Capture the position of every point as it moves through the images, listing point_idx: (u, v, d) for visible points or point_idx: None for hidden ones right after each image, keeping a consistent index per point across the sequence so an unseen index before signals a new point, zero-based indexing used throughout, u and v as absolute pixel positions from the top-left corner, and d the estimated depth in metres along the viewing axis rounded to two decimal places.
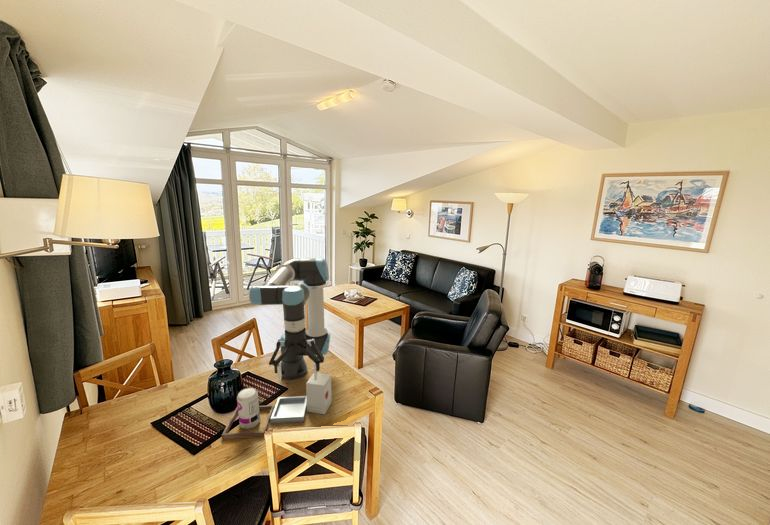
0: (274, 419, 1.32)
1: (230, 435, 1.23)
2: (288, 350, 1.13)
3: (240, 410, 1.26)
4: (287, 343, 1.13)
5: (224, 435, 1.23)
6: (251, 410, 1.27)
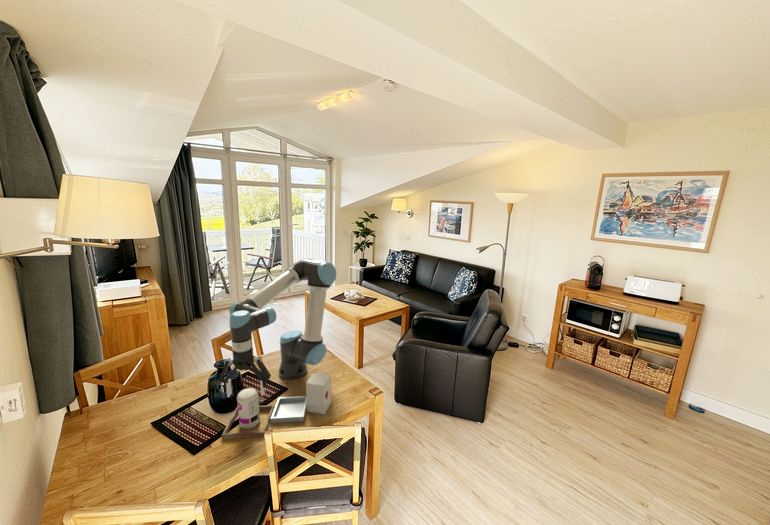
0: (274, 419, 1.32)
1: (230, 435, 1.23)
2: (236, 368, 1.24)
3: (240, 410, 1.26)
4: (235, 362, 1.24)
5: (224, 435, 1.23)
6: (251, 410, 1.27)
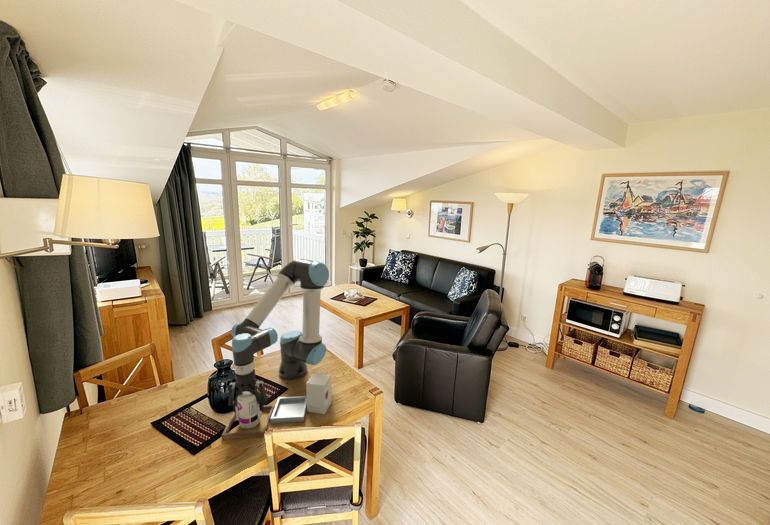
0: (274, 419, 1.32)
1: (230, 435, 1.23)
2: (240, 390, 1.26)
3: (240, 410, 1.26)
4: (237, 384, 1.26)
5: (224, 435, 1.23)
6: (251, 410, 1.27)
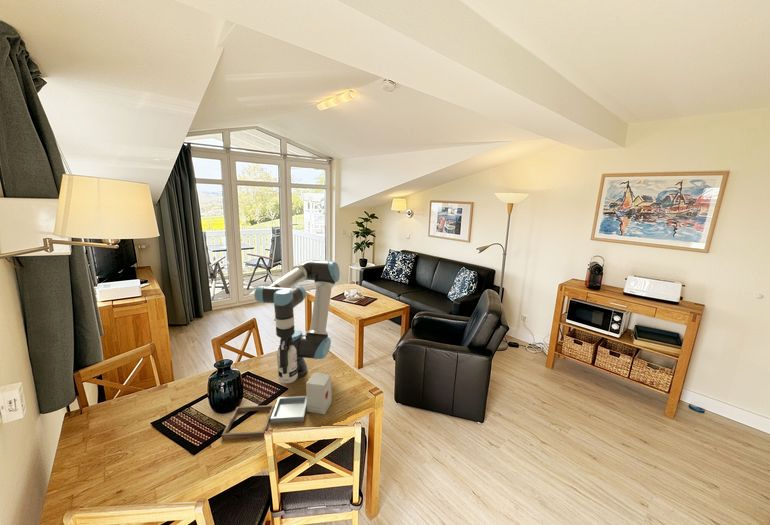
0: (274, 419, 1.32)
1: (230, 435, 1.23)
2: None
3: None
4: None
5: (224, 435, 1.23)
6: (278, 363, 1.31)
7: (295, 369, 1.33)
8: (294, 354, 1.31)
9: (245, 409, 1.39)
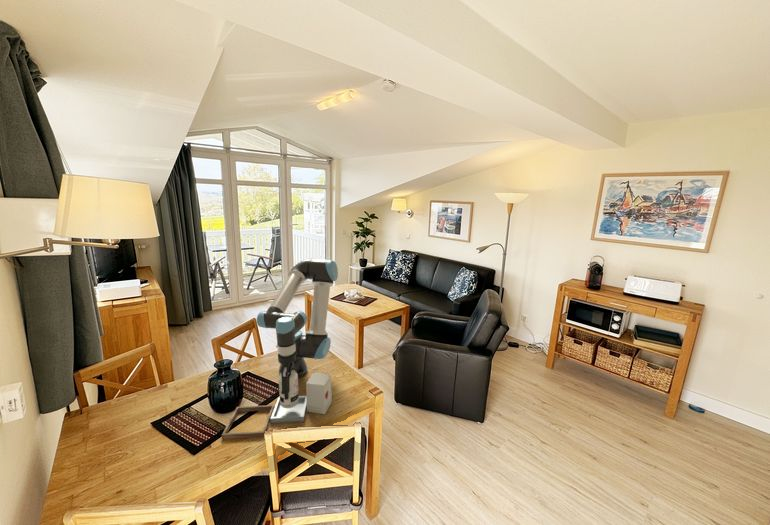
0: (274, 419, 1.32)
1: (230, 435, 1.23)
2: None
3: None
4: None
5: (224, 435, 1.23)
6: (279, 388, 1.34)
7: (297, 394, 1.36)
8: (295, 380, 1.34)
9: (245, 409, 1.39)
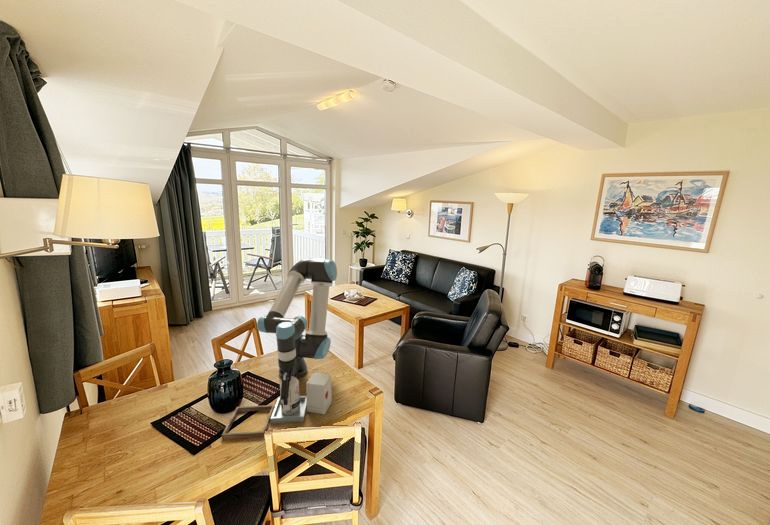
0: (274, 419, 1.32)
1: (230, 435, 1.23)
2: None
3: None
4: None
5: (224, 435, 1.23)
6: None
7: (298, 401, 1.37)
8: (297, 387, 1.35)
9: (245, 409, 1.39)
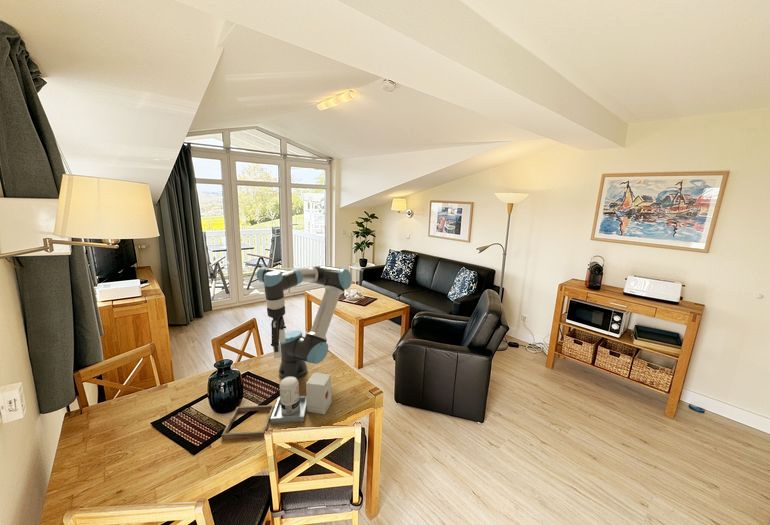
0: (274, 419, 1.32)
1: (230, 435, 1.23)
2: None
3: None
4: None
5: (224, 435, 1.23)
6: (280, 396, 1.35)
7: (298, 401, 1.37)
8: (296, 387, 1.35)
9: (245, 409, 1.39)
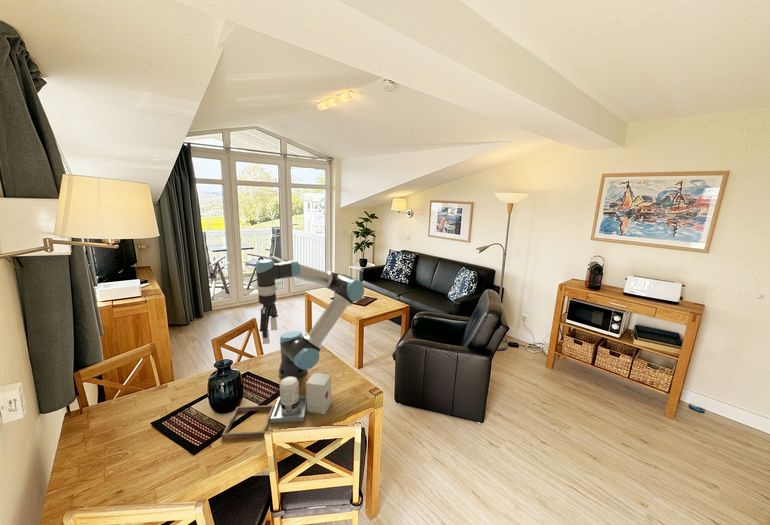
0: (274, 419, 1.32)
1: (230, 435, 1.23)
2: None
3: None
4: None
5: (224, 435, 1.23)
6: (280, 396, 1.35)
7: (298, 401, 1.37)
8: (296, 387, 1.35)
9: (245, 409, 1.39)
